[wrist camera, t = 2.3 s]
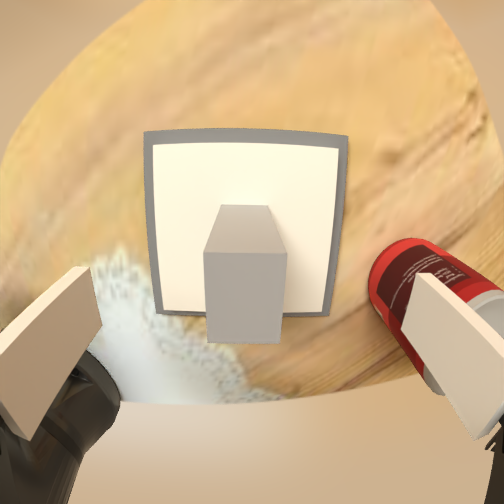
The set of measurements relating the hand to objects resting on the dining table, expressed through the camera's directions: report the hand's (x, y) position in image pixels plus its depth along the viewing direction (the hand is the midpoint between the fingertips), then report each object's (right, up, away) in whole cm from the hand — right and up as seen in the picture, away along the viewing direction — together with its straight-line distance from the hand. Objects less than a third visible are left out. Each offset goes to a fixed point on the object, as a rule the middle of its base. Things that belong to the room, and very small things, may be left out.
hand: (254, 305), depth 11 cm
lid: (-1, +3, +10) cm, 10 cm away
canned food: (+13, 0, +13) cm, 18 cm away
